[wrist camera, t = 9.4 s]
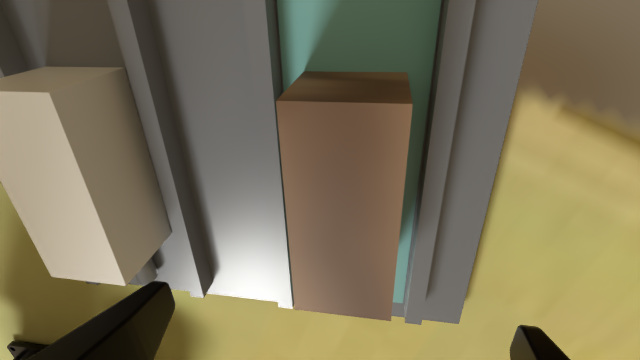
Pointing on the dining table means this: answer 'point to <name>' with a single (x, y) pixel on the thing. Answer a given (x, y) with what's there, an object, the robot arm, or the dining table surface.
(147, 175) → the off-white plug
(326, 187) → the walnut plug
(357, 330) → the dining table surface
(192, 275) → the grooved grey tray
